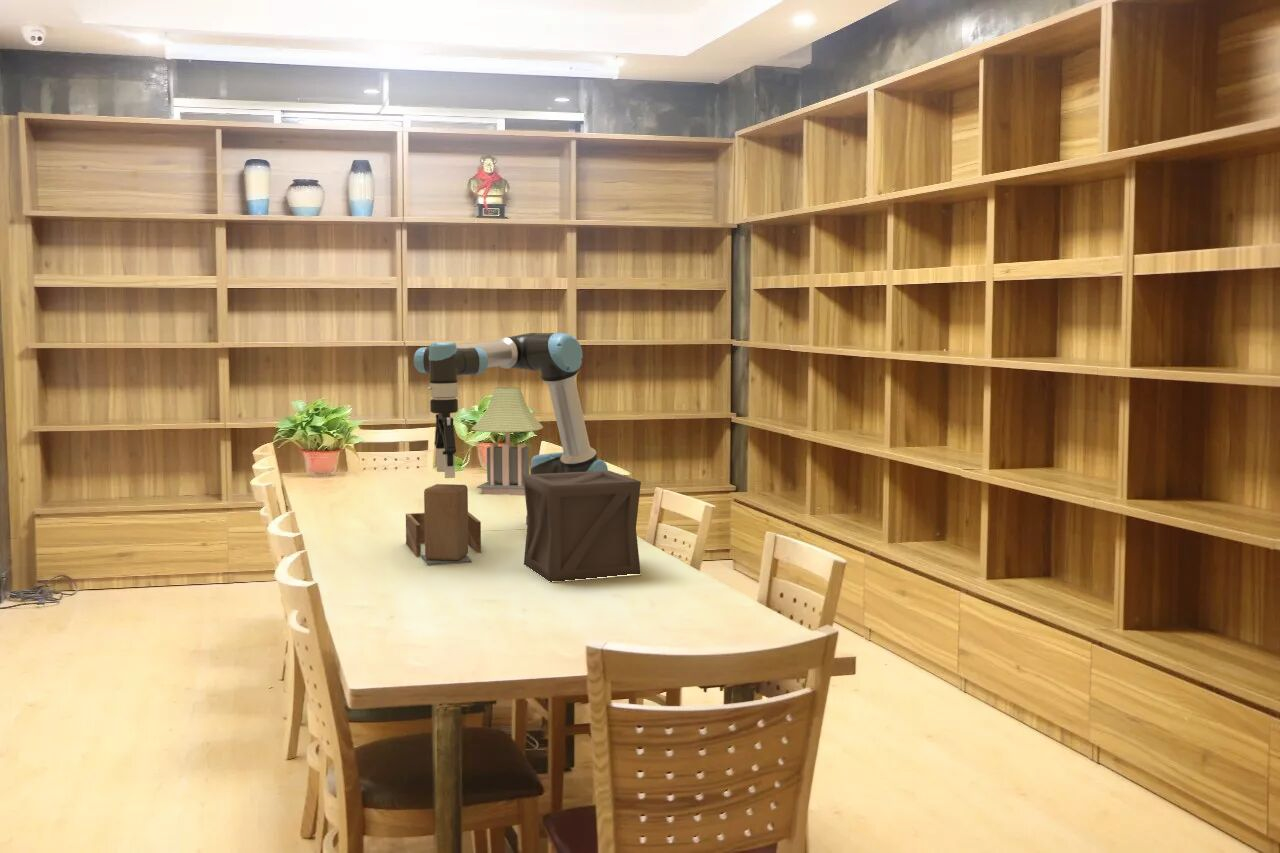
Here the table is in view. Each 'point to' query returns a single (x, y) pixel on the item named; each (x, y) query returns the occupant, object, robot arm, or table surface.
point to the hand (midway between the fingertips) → (445, 474)
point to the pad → (446, 561)
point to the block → (446, 522)
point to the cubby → (417, 532)
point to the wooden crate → (581, 525)
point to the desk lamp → (507, 460)
